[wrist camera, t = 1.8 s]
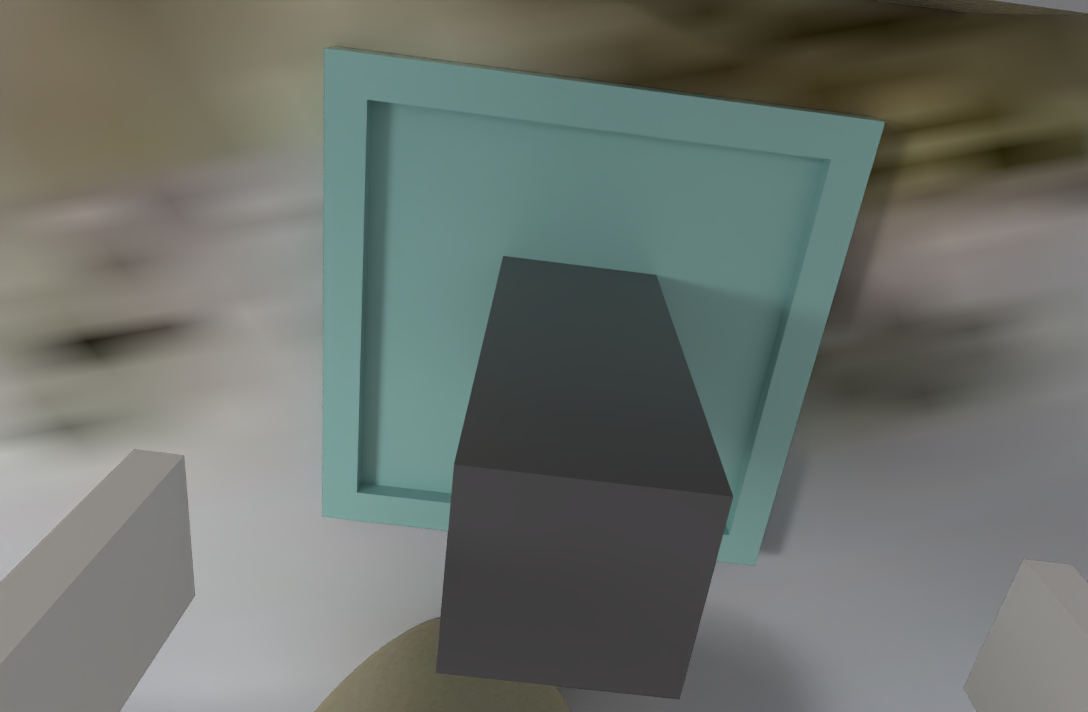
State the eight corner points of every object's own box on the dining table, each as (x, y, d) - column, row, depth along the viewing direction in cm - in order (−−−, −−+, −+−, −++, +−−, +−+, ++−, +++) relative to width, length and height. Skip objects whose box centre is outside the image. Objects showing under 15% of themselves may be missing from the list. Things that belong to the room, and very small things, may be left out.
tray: (330, 498, 24) (322, 516, 23) (335, 46, 18) (324, 48, 18) (748, 546, 24) (754, 565, 23) (871, 116, 19) (884, 121, 18)
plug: (488, 392, 22) (436, 673, 13) (502, 255, 20) (453, 464, 11) (630, 409, 22) (679, 699, 13) (655, 274, 20) (733, 497, 11)
